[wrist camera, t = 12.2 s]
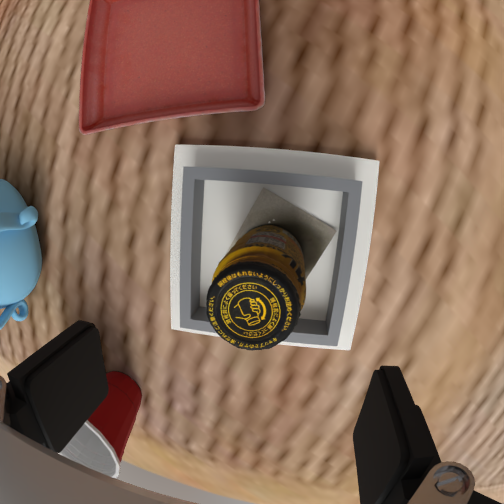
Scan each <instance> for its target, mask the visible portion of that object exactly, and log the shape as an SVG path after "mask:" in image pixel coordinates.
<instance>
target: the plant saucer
mask: <svg viewBox="0 0 504 504" xmlns="http://www.w3.org/2000/svg"><path fill="white" fill-rule="evenodd" d="M79 100H80V102H79V131H80V132H81V133H82V134H83V135H87V134H92V133H96V132H101V131H105V130H110V129H115V128H120V127H125V126H130V125H136V124H141V123H147V122H153V121H160V120H166V119H174V118H181V117H189V116H197V115H206V114H215V113H227V112H241V111H254V110H258V109H260V108H262V107H263V106H264V104H265V90H264V72H263V56H262V38H261V23H260V6H259V0H90V4H89V9H88V15H87V21H86V28H85V37H84V45H83V55H82V66H81V79H80V96H79Z"/></svg>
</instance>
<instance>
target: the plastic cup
mask: <svg viewBox="0 0 504 504" xmlns="http://www.w3.org/2000/svg"><path fill="white" fill-rule="evenodd" d="M106 377H107V382H108V387H109V392H108V395H107V397H106V398H105V399H104V400H103V402H102V403H101V404H100V405H99V406H98V408H97V409H96V410H95V411H94V413H93V414H92V415H91V416H90V417H89V419H88V420H87V421H86V422H85V423H84V425H83V426H82V427H81V428H80V429H79V431H78V432H77V433H76V434H75V436H74V437H73V438H72V439H71V440H70V442H69V443H68V444H67V445H66V447H65V448H64V449H63V450H62V451H61V452H60V454H61V455H62V456H64V457H66V458H68V459H70V460H72V461H75V462H77V463H79V464H81V465H83V466H86V467H88V468H90V469H93V470H95V471H98V472H100V473H102V474H105V475H107V476H110V477H112V478H116V477H117V476H119V473H120V462H121V459H122V456H123V453H124V449H125V446H126V443H127V441H128V438H129V435H130V433H131V430H132V428H133V425H134V422H135V420H136V415H137V412H138V410H139V407H140V404H141V398H142V394H141V391H140V388H139V387H138V385H137V384H136V382H135V381H134V380H133V379H131V378H130V377H129V376H128V375H126V374H123V373H121V372H117V371H112V372H109V373H106Z"/></svg>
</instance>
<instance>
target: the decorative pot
mask: <svg viewBox="0 0 504 504" xmlns="http://www.w3.org/2000/svg"><path fill="white" fill-rule="evenodd" d="M37 220H38V211H37V210H36V208H35V207H33V206H29V207H28V206H27V205H26V203H25V201H24V199H23V198H22V196H21V195H20V193H19V192H18V191H17V190H16V188H14V187H13V186H12V185H11V184H10V183H9V182H7V181H5V180H3V179H0V309H2V308H6V309H5V310H4V312H3V313H2V314H1V316H0V329H2V328H3V326H4V325H5V324H6V323H7V321H8V320H9V318H10V317H11V316H12V318H13V319H14V320H16V321H23V320H24V319H26V317H27V316H28V305H27V303H26V301H25V300H23V299H24V298H25V297H26V296H27V295H29V293H30V292H31V291H32V290H33V289H34V288H35V286H36V284H37V282H38V279H39V276H40V273H41V269H42V255H41V248H40V243H39V238H38V234H37V230H36V226H35V223H36V222H37ZM17 307H18V308H19V311H20V314H19V315H18V314H17V312H16V310H15V309H16V308H17Z"/></svg>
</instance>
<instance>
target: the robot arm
mask: <svg viewBox="0 0 504 504" xmlns="http://www.w3.org/2000/svg"><path fill="white" fill-rule="evenodd" d="M7 375H8V378H9V380H10V381H9V382H8V383H6V381H5V379H4V378H3V377H1V376H0V504H197V503H193V502H189V501H185V500H181V499H177V498H173V497H170V496H166V495H162V494H159V493H156V492H153V491H149V490H146V489H143V488H140V487H137V486H134V485H132V484H129V483H126V482H123V481H120V480H118V479H115V478H112V477H110V476H107V475H105V474H102V473H100V472H98V471H95V470H93V469H90V468H88V467H86V466H83V465H81V464H79V463H77V462H75V461H72V460H70V459H68V458H66V457H64V456H62V455H60V454H58V453H60V452H61V451H62V450H63V449H64V448H65V447H66V445H67V444H68V443H69V442H70V440H71V439H72V438H73V437H74V436H75V434H76V433H77V432H78V431H79V429H80V428H81V427H82V426H83V425H84V423H85V422H86V421H87V420H88V419H89V417H90V416H91V415H92V414H93V413H94V411H95V410H96V409H97V408H98V406H99V405H100V404H101V403H102V402H103V400H104V399H105V398H106V397H107V395H108V392H109V387H108V382H107V377H106V372H105V366H104V361H103V355H102V349H101V342H100V336H99V331H98V329H97V328H96V327H95V325H94V324H93V323H89V322H85V321H82V320H79V321H77V322H75V323H74V324H73V325H71V326H70V327H69V328H67V329H66V330H64V331H63V332H62V333H60V334H59V335H58V336H56V337H55V338H54V339H52V340H51V341H50V342H48V343H47V344H45V345H44V346H43V347H41V348H40V349H39V350H37V351H36V352H35V353H33V354H32V355H31V356H30V357H28V358H27V359H26V360H24V361H23V362H22V363H20V364H19V365H18V366H16V367H15V368H14V369H13V370H11V371H10V372H9V373H7ZM353 442H354V450H355V458H356V466H357V475H358V485H359V495H360V504H502V503H499V502H497V501H495V500H493V499H491V498H489V497H486V496H484V495H482V494H480V493H478V492H476V491H474V486H475V480H474V476H473V474H472V472H471V471H470V470H469V469H468V468H467V467H465V466H464V465H462V464H460V463H456V462H442V463H441V460H440V457H439V455H438V452H437V449H436V447H435V444H434V441H433V439H432V436H431V434H430V431H429V428H428V426H427V423H426V421H425V418H424V416H423V414H422V411H421V409H420V407H419V406H417V405H415V403H414V401H413V399H412V396H411V394H410V391H409V389H408V386H407V384H406V382H405V379H404V377H403V375H402V372H401V370H400V368H399V367H398V366H381V367H380V369H379V370H375V371H374V372H373V375H372V378H371V382H370V385H369V388H368V391H367V394H366V397H365V400H364V403H363V406H362V409H361V412H360V415H359V417H358V420H357V423H356V426H355V429H354V433H353Z"/></svg>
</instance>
